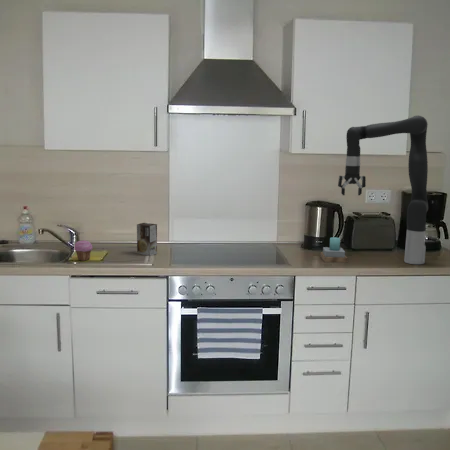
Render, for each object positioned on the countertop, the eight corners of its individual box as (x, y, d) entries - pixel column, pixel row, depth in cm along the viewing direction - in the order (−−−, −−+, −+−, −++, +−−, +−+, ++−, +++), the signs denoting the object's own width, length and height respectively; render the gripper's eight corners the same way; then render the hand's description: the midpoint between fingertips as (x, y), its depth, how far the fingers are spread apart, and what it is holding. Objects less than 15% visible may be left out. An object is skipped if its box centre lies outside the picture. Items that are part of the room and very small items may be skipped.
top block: (341, 253, 290) (341, 247, 290) (344, 257, 280) (345, 251, 280) (322, 252, 291) (323, 247, 290) (325, 256, 281) (325, 251, 280)
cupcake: (84, 262, 268) (83, 242, 266) (70, 260, 272) (70, 240, 270) (96, 259, 276) (95, 239, 274) (83, 257, 280) (82, 238, 278)
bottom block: (342, 258, 292) (342, 252, 292) (347, 263, 280) (347, 257, 280) (319, 257, 292) (320, 252, 292) (324, 263, 280) (324, 257, 280)
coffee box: (157, 253, 290) (157, 224, 288) (150, 255, 285) (149, 225, 282) (144, 251, 295) (144, 222, 292) (136, 253, 290) (136, 223, 287)
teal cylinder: (338, 248, 288) (338, 237, 287) (340, 250, 283) (341, 239, 281) (328, 248, 288) (329, 237, 286) (330, 250, 282) (331, 239, 281)
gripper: (364, 164, 292) (362, 194, 295) (337, 164, 292) (336, 194, 295) (368, 165, 285) (366, 196, 288) (341, 165, 284) (339, 195, 287)
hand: (351, 195), depth 291 cm, fingers open, 8 cm apart
